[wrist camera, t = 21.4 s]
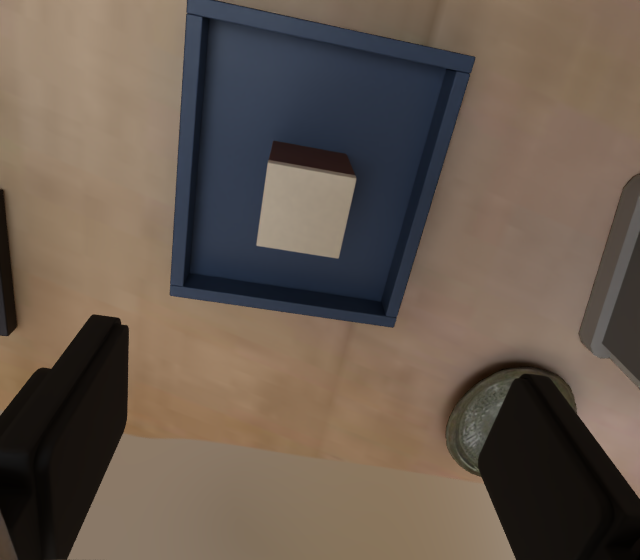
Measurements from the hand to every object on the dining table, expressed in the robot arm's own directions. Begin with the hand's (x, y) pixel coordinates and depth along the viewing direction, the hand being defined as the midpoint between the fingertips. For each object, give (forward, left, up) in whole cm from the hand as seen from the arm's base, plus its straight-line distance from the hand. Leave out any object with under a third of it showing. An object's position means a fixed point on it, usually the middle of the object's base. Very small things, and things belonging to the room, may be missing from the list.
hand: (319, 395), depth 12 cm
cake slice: (0, 0, -20) cm, 20 cm away
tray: (0, 0, -20) cm, 20 cm away
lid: (+16, +19, -20) cm, 32 cm away
